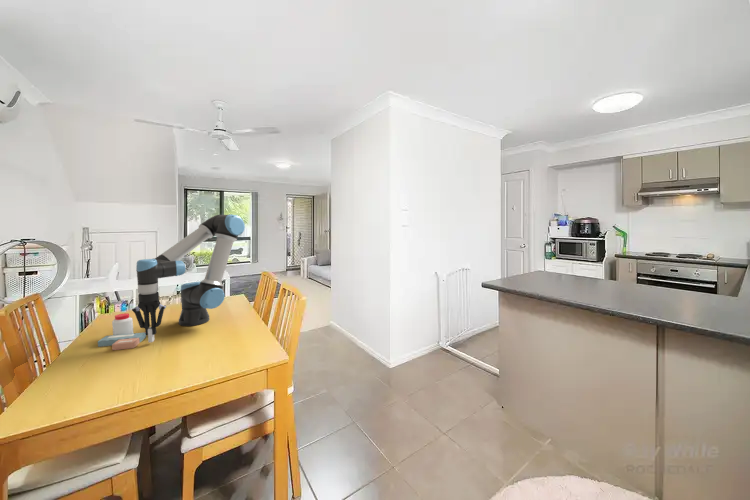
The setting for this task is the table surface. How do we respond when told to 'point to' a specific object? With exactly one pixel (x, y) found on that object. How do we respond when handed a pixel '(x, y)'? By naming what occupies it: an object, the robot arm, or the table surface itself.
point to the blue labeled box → (113, 338)
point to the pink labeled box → (125, 343)
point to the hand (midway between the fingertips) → (151, 341)
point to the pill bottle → (122, 324)
